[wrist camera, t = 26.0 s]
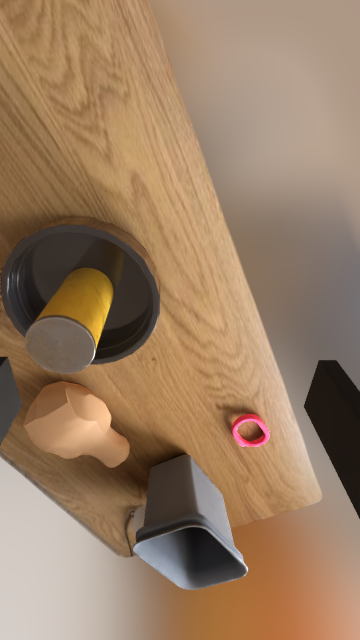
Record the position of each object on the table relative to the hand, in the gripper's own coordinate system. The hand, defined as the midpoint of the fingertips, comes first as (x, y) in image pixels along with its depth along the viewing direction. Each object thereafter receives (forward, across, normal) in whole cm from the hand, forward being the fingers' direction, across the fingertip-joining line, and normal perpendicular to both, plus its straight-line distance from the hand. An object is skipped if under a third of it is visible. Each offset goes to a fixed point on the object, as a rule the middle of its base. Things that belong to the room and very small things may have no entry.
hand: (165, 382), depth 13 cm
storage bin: (+28, +4, -52) cm, 59 cm away
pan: (+28, -10, -8) cm, 31 cm away
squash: (+28, -13, -31) cm, 44 cm away
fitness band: (+28, +15, -36) cm, 48 cm away
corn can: (+27, -10, -8) cm, 30 cm away
